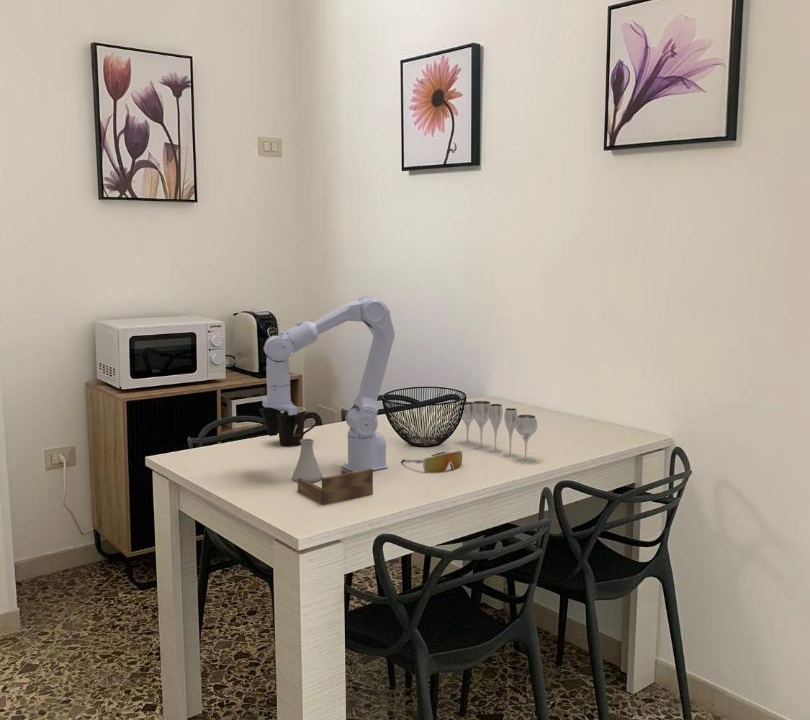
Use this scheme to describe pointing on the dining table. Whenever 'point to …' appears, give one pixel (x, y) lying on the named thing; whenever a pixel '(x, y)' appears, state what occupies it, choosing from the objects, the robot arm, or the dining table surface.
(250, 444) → the dining table surface
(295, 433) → the coffee mug
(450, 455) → the sunglasses
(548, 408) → the dining table surface
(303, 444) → the flask
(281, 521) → the dining table surface
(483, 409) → the goblet set
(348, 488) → the shelf bay
